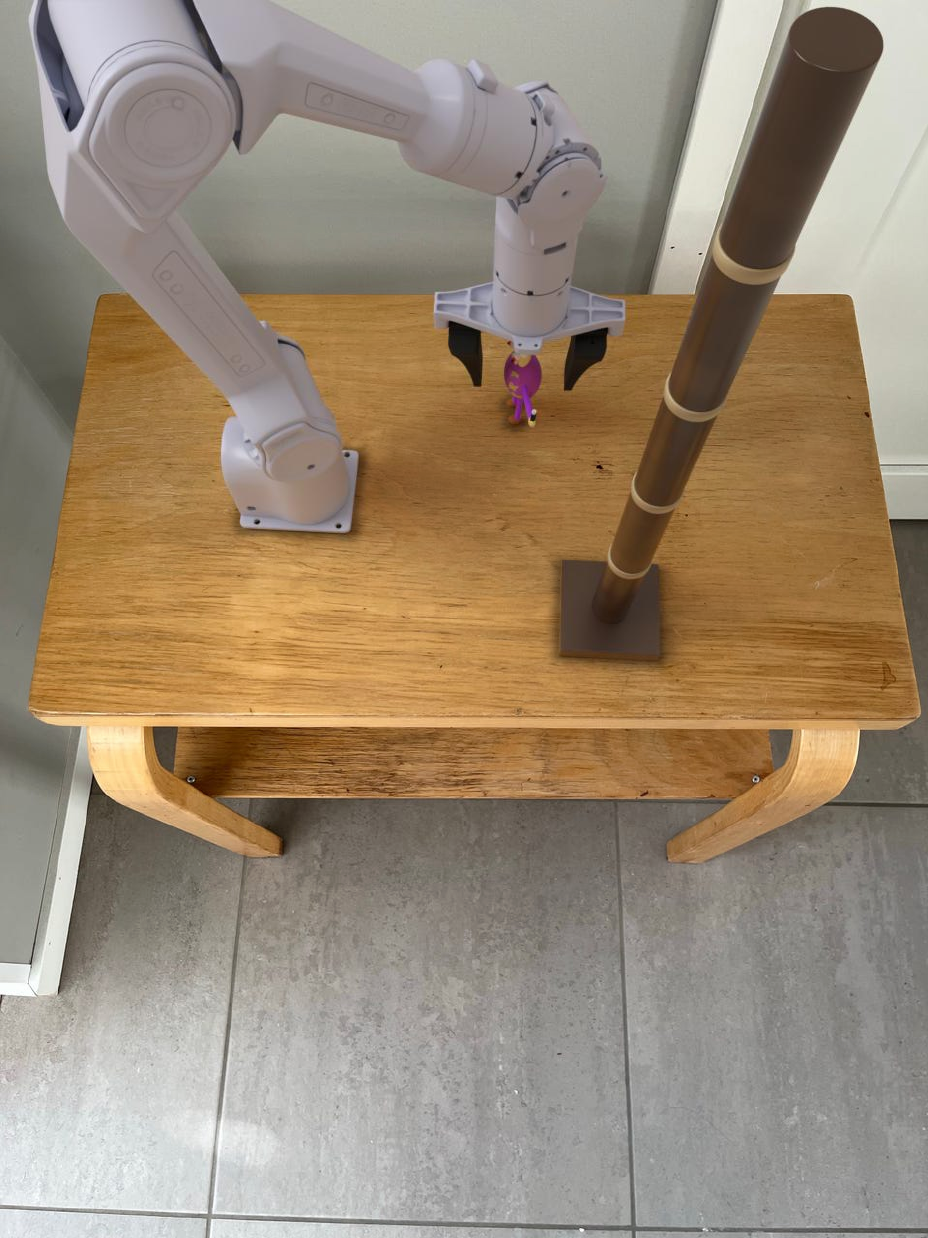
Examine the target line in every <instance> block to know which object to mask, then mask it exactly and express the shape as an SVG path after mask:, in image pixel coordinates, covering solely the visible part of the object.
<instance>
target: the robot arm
mask: <svg viewBox="0 0 928 1238" xmlns="http://www.w3.org/2000/svg"><path fill="white" fill-rule="evenodd" d="M28 26H29V27H28V28H29V33H30V38H31V43H32V48H33V52H34V58H35V64H36V68H37V76H38V85H39V95H40V103H41V104H40V107H41V116H42V125H43V126H42V128H43V138H44V150H45V160H46V169H47V175H48V176H47V177H48V181H49V183H50V186H51V188H52V192H53V195H54V198H55V200H56V204H57V205H58V209H59V211H60V215H61V217H62V220H63V222H64V223H65V225H66V226H67V228H68V230H69V231H70V232H71V234H72V235H74V237H75V238H76V239H77V240H78V241H79V242H80V243H81V244H82V245H83V246H84V248H86V249H87V250H88V252H89V253H90V254H91V255H92V256H93V257H94V258H95V259H96V260H97V261H98V263H100V265H101V266H102V267H103V268H105V270H106V271H107V272H108V273H109V274H110V275H111V277H113V278H114V279H115V281H116V282H117V283H118V284H119V285H120V286H121V287H122V288H123V289H124V290H125V291H126V292H127V293H128V294H129V296H130V297H131V298H132V299H134V301H135V302H136V303H137V304H138V305H139V306H140V307H141V308H142V309H143V310H144V311H145V312H146V313H147V314H148V315H149V317H150V318H151V319H152V320H153V321H154V322H155V323H156V325H158V326H159V327H160V328H161V329H162V331H163V332H164V333H165V334H166V335H167V336H168V337H169V338H170V339H171V340H172V342H174V344H176V346H177V347H178V348H179V349H180V350H181V351H182V352H183V353H184V354H185V355H186V356H187V357H188V358H189V359H190V360H191V361H192V363H193V364H194V365H195V366H196V367H197V368H198V369H199V370H200V371H201V372H202V373H203V374H204V376H206V377H207V379H208V380H209V381H210V382H211V383H212V384H213V386H215V388H217V389H218V390H219V391H220V393H222V394H223V396H224V397H225V398H226V400H227V401H228V403H229V405H230V407H231V409H232V411H233V412H234V414H235V415H234V416H229V417H228V418H227V419H226V421H225V423H224V426H223V430H222V435H221V442H220V443H221V445H220V462H221V464H220V465H221V471H222V476H223V479H224V483H225V485H226V487H227V489H228V491H229V493H230V495H231V498H232V500H233V502H234V503H235V505H236V507H237V510H238V511H239V514H240V519H239V524H240V526H241V527H242V528H243V529H252V530H272V531H291V532H292V531H293V532H294V531H295V532H310V533H311V532H312V533H330V534H331V533H333V534H335V533H336V534H348V533H349V532H350V531H351V529H352V522H353V521H352V520H353V513H354V505H355V503H354V502H355V494H356V485H357V476H358V469H359V458H360V455H359V452H358V451H356V450H353V449H344V439H343V436H342V434H341V432H340V431H339V430H338V426H337V422H336V419H335V416H334V414H333V412H332V411H331V409H330V408H329V407H328V406H327V405H326V404H325V401H324V399H323V398H322V395H321V393H320V391H319V388H318V385H317V384H316V382H315V379H314V377H313V374H312V372H311V370H310V368H309V366H308V364H307V359H306V354H305V351H304V349H303V347H302V345H301V344H300V343H299V342H297V340H295V339H293V338H291V337H289V336H286V335H283V334H281V333H280V332H277V331H276V330H275V329H274V328H273V327H272V326H271V324H270V323H269V322H268V321H267V320H259V319H258V318H257V317H256V315H255V314H254V312H253V311H252V310H251V308H250V307H249V306H248V304H247V303H246V302H245V300H244V299H243V297H242V296H241V295H240V294H239V292H238V291H237V289H236V288H235V287H234V286H233V284H232V283H231V281H230V280H229V279H228V278H227V277H226V275H225V274H224V272H223V271H222V269H221V268H220V267H219V266H218V264H217V263H216V262H215V261H214V259H213V258H212V257H211V255H210V254H209V252H208V251H207V249H205V247H204V246H203V244H202V243H201V241H200V240H199V239H198V238H197V237H196V235H195V234H194V232H193V231H192V229H191V228H190V227H189V226H188V224H187V223H186V222H185V221H184V220H185V219H183V218H182V217H181V215H180V213H179V212H178V211H177V209H178V208H179V207H180V206H181V204H182V203H183V202H184V201H185V200H186V199H187V198H188V197H189V196H190V194H192V192H193V191H194V190H195V189H196V188H197V187H198V186H199V185H200V184H201V182H203V180H204V179H205V178H206V177H207V176H208V175H209V174H210V173H211V172H212V170H213V169H214V168H215V167H216V166H217V165H218V163H219V162H220V161H221V160H222V158H223V157H224V156H225V154H226V153H227V151H228V149H229V147H230V146H231V143H233V144H234V147H235V149H236V151H237V152H238V155H239V156H243V155H246V154H248V153H250V152H251V150H252V149H253V148H254V147H255V145H256V144H257V143H258V141H260V139H261V138H262V137H263V135H264V134H265V132H266V131H267V129H268V128H269V127H270V126H271V124H273V122H274V121H275V119H276V118H277V117H278V116H279V115H282V114H283V115H284V114H285V115H290V116H294V117H297V118H301V119H305V120H309V121H314V122H317V123H322V124H325V125H330V126H334V127H338V128H342V129H347V130H350V131H354V132H358V133H362V134H367V135H370V136H375V137H378V138H381V139H387V140H391V141H395V142H396V143H397V146H398V150H399V152H400V155H401V157H402V159H403V161H404V162H405V163H406V165H407V166H408V167H409V168H410V169H412V170H413V171H416V172H418V173H421V174H424V175H427V176H430V177H433V178H438V179H441V180H443V181H446V182H450V183H451V184H452V183H453V184H456V185H459V186H462V187H465V188H468V189H472V190H475V191H478V192H481V193H484V194H488V195H491V196H494V197H495V213H494V214H495V216H494V218H495V220H494V244H493V245H494V246H493V266H492V267H493V268H492V269H493V270H492V281H490V282H485V283H483V284H477V285H474V286H470V287H466V288H461V289H456V290H450V291H435V292H434V303H433V323H434V324H433V326H434V329H436V330H447V329H448V337H447V346H448V351H449V353H450V355H451V356H453V357H455V358H456V359H458V360H459V361H460V362H461V364H462V365H463V366H464V367H465V369H466V371H467V373H468V375H469V376H470V379H471V382H472V386H473V387H475V388H482V386H483V385H482V384H483V362H484V353H483V345H482V332H483V333H486V334H489V335H492V336H495V337H497V338H500V339H503V340H506V341H508V342H509V341H512V342H513V343H514V349H513V351H515V352H516V353H517V354H526V355H535V356H537V355H540V354H541V353H542V350H543V345H544V344H546V343H549V342H553V341H557V340H561V339H565V338H568V337H570V342H569V345H568V349H567V353H566V357H565V361H564V370H563V392H567V391H568V392H571V391H572V390H573V388H574V387H575V386H576V384H577V382H578V381H579V379H580V378H581V377H582V376H583V374H584V373H585V372H586V371H587V370H588V369H590V368H591V367H592V366H594V365H595V364H598V363H601V362H602V361H603V359H604V357H605V356H606V353H607V348H608V336H610V337H620V338H621V337H622V336H623V332H624V328H625V324H626V300H625V299H621V298H620V299H619V298H613V297H607V296H603V295H600V294H597V293H594V292H590V291H588V290H585V289H582V288H578V287H576V286H573V285H572V280H573V273H574V268H575V261H576V253H577V247H578V241H579V235H580V234H579V233H580V232H582V231H583V228H584V220H585V218H586V215H587V213H588V212H589V210H590V209H591V208H592V207H593V206H594V205H595V203H596V202H597V201H598V199H599V198H600V196H601V195H602V193H603V191H604V189H605V186H606V184H607V182H608V181H607V180H608V175H606V174H605V175H604V172H603V170H602V158H601V156H600V153H599V150H598V149H597V148H596V147H595V145H594V144H593V142H592V140H591V138H590V137H589V135H588V133H586V131H585V129H584V128H583V127H582V125H581V123H580V122H579V120H578V119H577V117H576V116H575V114H574V113H573V111H572V109H571V108H570V107H569V105H568V103H567V102H566V100H565V98H564V97H562V96H561V95H560V94H559V91H557V90H556V89H555V88H554V87H552V86H551V85H550V84H549V82H548V81H547V80H533V81H528V82H525V83H522V84H520V85H517V86H515V87H512V86H509V85H507V84H505V83H503V82H500V81H499V80H498V78H497V77H496V75H495V73H494V72H493V69H492V68H491V67H490V65H489V64H487V63H485V62H483V61H481V60H479V59H476V58H472V59H471V60H470V61H469V63H468V65H467V66H466V67H465V66H463V65H461V64H459V63H456V62H454V61H452V60H449V59H446V58H444V57H443V58H441V57H440V58H433V59H431V60H428V61H426V62H425V63H423V64H422V65H420V66H419V67H418V68H416V69H415V70H411V69H409V68H407V67H405V66H403V65H401V64H398V63H396V62H395V61H392V60H391V59H389V58H386V57H384V56H382V55H380V54H378V53H376V52H374V51H373V50H371V49H368V48H366V47H365V46H363V45H360V44H358V43H357V42H354V41H352V40H351V39H348V38H346V37H344V36H343V35H340V34H338V33H336V32H334V31H332V30H330V29H328V28H327V27H324V26H322V25H320V24H318V23H316V22H314V21H312V20H311V19H308V18H306V17H304V16H302V15H299V14H298V13H295V12H294V11H292V10H289V9H288V8H285V7H284V6H282V5H280V4H277V3H275V2H274V1H271V0H33V2H32V5H31V8H30V12H29V15H28ZM347 455H349V456H347ZM257 522H259V523H258V524H256V523H257ZM338 526H341V527H340V528H337V527H338Z"/></svg>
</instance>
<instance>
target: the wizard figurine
mask: <svg viewBox="0 0 928 1238" xmlns="http://www.w3.org/2000/svg"><path fill="white" fill-rule="evenodd" d="M506 344H507V345H508V346H510V347H511V348H512V349H513V351H512V352H511V353H510V354H509V355H508V356H507V358H506V360H505V363H504V366H503V379H504V382H505V386H506V389H507V390H508V391H509V393H510V394H511V395H512V398H509V399H508V400H506V406H507V407H508V408H515V411H514V412H515V413H514V414H512V415H510V416H509V417H508V420H507V421H508V423H509V424H511V425H517V424H519V423H520V422H521V419H522V418H521V416H522V410H523V404H524V407H525V412H526V416H527V423H528V426H529V427H531V428H534V427H535V426H536V424H537V423H536V418H537V414H538V412H537V409H536V408H534V409H533V405H532V401H531V398H533V397H534V396H535V395H536V394H537V392H538V391H539V389H540V387H541V383H542V380H543V379H542V378H543V373H542V372H543V370H542V366H541V363H540V360H539V359H538V357H537V355H526V354H517V353H516V352H515V351H514V343H513V342H512V341H509V340H508V341H507V342H506Z"/></svg>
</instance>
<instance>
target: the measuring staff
mask: <svg viewBox="0 0 928 1238" xmlns="http://www.w3.org/2000/svg"><path fill="white" fill-rule="evenodd" d="M884 45H885V44H884V37H883V34H882V32H881V31H880V29H879V27H878V26H877V25H876V24H875V23H874V22H873V21H872V20H871V19H869V18H868V17H867V16H865V15H863V14H861V13H860V12H858V11H854V10H852V9H849V8H846V7H839V6H823V7H822V6H821V7H817V8H812V9H810V10H807V11H805V12H803V13H802V14H800V15H799V16H798V17H797V18H796V19H795V20H794V21H793V22H792V24H791V25H790V27H789V30H788V33H787V36H786V39H785V41H784V45H783V48H782V50H781V52H780V53H781V54H780V55H779V58H778V62H777V65H776V68H775V71H774V74H773V76H772V79H771V81H770V85H769V89H768V91H767V94H766V97H765V98H764V99H765V100H764V103H763V105H762V108H761V111H760V114H759V117H758V120H757V123H756V126H755V129H754V131H753V135H752V137H751V140H750V143H749V146H748V149H747V152H746V154H745V158H744V161H743V164H742V167H741V169H740V172H739V175H738V178H737V180H736V183H735V186H734V189H733V193H732V195H731V198H730V201H729V204H728V206H727V210H726V212H725V216H724V219H723V221H722V222H721V224H719V227H718V229H717V232H716V234H715V236H714V240H713V243H712V247H711V248H712V250H711V256H710V259H709V262H708V264H707V267H706V270H705V274H704V276H703V279H702V281H701V285H700V288H699V291H698V294H697V296H696V300H695V302H694V306H693V308H692V311H691V314H690V316H689V320H688V323H687V326H686V329H685V331H684V334H683V337H682V340H681V343H680V346H679V349H678V352H677V355H676V358H675V361H674V363H673V367H672V369H671V371H670V373H669V374H668V376H667V378H666V381H665V384H664V387H663V391H662V392H663V394H662V395H663V396H662V399H661V401H660V404H659V407H658V410H657V413H656V416H655V418H654V421H653V425H652V427H651V431H650V432H649V436H648V439H647V441H646V444H645V448H644V451H643V454H642V456H641V459H640V462H639V465H638V468H637V471H636V472H635V473H634V475H633V477H632V481H631V484H630V491H629V494H628V497H627V500H626V503H625V506H624V508H623V512H622V514H621V517H620V520H619V523H618V525H617V529H616V532H615V534H614V538H613V540H612V542H611V543H610V546H609V548H608V551H607V555H606V561H600V560H599V561H598V560H581V559H561V563H560V567H559V612H558V613H559V615H558V617H559V619H558V620H559V621H558V656H559V657H575V658H593V659H608V660H609V659H611V660H627V661H629V660H632V661H648V662H649V661H650V662H657V661H658V660H659V658H660V657H661V622H660V621H661V614H660V613H661V610H660V575H659V574H660V573H659V570H660V569H659V568H660V567H659V564H658V563H653V562H654V556H655V555H656V552H657V550H658V548H659V545H660V543H661V541H662V539H663V537H664V535H665V532H666V530H667V528H668V526H669V524H670V521H671V519H672V517H673V515H674V512H675V511H676V508H678V506H679V505H680V504H681V501H682V499H683V497H684V494H685V491H686V487H687V485H688V482H689V479H690V477H691V475H692V474H693V470H694V468H695V466H696V464H697V462H698V460H699V458H700V455H701V453H702V451H703V449H704V447H705V445H706V443H707V440H708V438H709V435H710V434H711V431H712V429H713V427H714V425H715V423H716V420H717V419H718V416H719V414H720V413H721V412H722V411H723V409H724V407H725V405H726V403H727V402H728V398H729V395H730V389H731V388H732V385H733V383H734V381H735V378H736V376H737V374H738V372H739V371H740V370H739V369H740V368H741V365H742V363H743V361H744V359H745V356H746V354H747V352H748V350H749V348H750V345H751V343H752V341H753V339H754V337H755V335H756V332H757V330H758V328H759V326H760V323H761V322H762V319H763V318H764V315H765V313H766V310H767V308H768V306H769V304H770V301H771V299H772V297H773V295H774V293H775V290H776V288H777V286H778V284H779V282H780V279H781V277H782V275H784V274H785V272H786V271H787V270H788V268H789V266H790V263H791V262H792V259H793V256H794V254H795V252H796V247H797V246H796V244H797V242H798V241H799V238H800V236H801V233H802V231H803V229H804V227H805V225H806V223H807V221H808V218H809V216H810V214H811V212H812V209H813V207H814V205H815V203H816V200H817V198H818V197H819V194H820V191H821V189H822V187H823V186H824V183H825V181H826V178H827V176H828V174H829V171H830V170H831V168H832V166H833V163H834V161H835V159H836V156H837V154H838V152H839V150H840V148H841V145H842V143H843V142H844V139H845V137H846V135H847V132H848V130H849V128H850V125H851V123H852V121H853V119H854V117H855V115H856V113H857V110H858V109H859V106H860V104H861V101H862V100H863V97H864V95H865V92H866V90H867V88H868V87H869V84H870V83H871V80H872V77H873V75H874V73H875V71H876V68H877V66H878V64H879V62H880V60H881V57H882V55H883V53H884V47H885V46H884Z"/></svg>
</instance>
